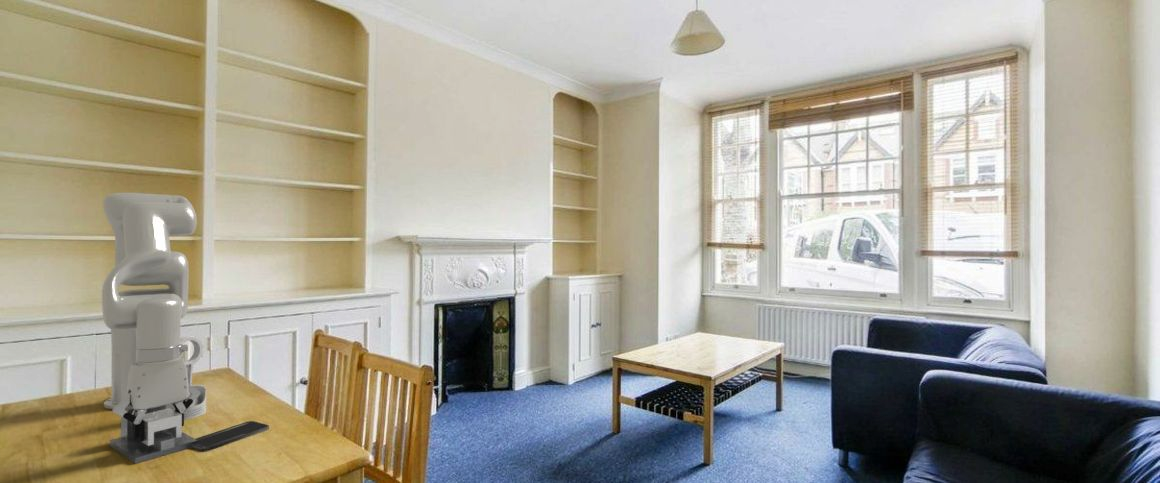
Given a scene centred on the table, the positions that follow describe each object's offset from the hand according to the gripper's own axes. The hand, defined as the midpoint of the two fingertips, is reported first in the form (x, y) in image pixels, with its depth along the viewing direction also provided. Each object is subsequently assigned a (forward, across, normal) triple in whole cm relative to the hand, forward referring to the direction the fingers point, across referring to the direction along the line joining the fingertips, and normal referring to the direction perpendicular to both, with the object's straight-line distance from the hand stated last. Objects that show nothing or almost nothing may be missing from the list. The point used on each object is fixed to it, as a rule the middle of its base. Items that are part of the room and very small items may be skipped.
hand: (158, 434), depth 113 cm
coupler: (+3, 0, -3) cm, 4 cm away
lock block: (+1, 0, 0) cm, 1 cm away
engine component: (+3, -12, -21) cm, 24 cm away
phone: (+4, -12, +5) cm, 13 cm away
